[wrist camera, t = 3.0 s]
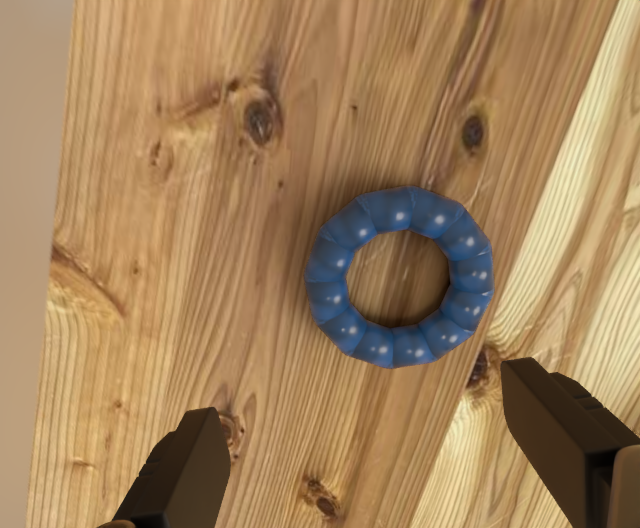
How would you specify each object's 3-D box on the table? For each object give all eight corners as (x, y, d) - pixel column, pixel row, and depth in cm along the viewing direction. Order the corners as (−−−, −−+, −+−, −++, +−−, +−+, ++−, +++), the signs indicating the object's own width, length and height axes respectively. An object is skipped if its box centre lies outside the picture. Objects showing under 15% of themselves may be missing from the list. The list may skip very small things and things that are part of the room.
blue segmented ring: (324, 366, 27) (324, 387, 25) (291, 204, 24) (287, 210, 22) (490, 340, 26) (506, 358, 24) (476, 170, 23) (492, 172, 21)
